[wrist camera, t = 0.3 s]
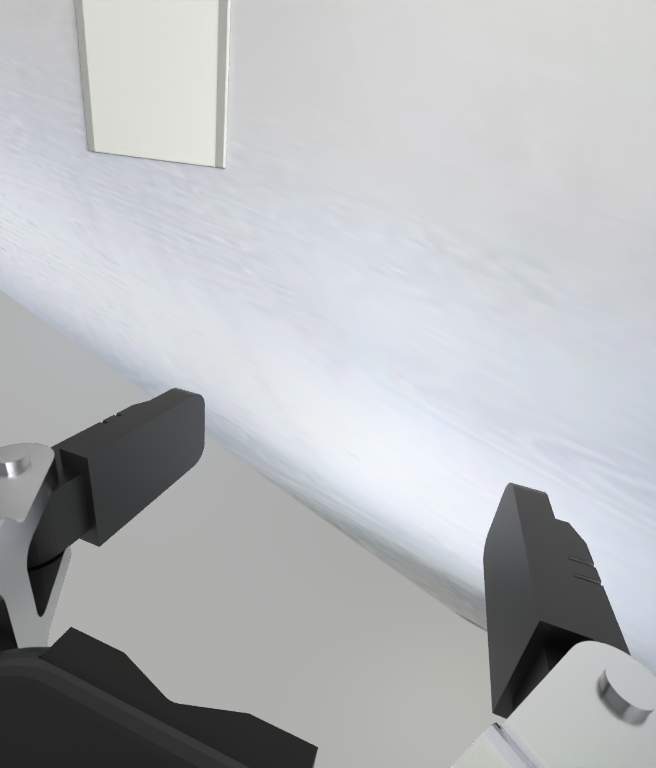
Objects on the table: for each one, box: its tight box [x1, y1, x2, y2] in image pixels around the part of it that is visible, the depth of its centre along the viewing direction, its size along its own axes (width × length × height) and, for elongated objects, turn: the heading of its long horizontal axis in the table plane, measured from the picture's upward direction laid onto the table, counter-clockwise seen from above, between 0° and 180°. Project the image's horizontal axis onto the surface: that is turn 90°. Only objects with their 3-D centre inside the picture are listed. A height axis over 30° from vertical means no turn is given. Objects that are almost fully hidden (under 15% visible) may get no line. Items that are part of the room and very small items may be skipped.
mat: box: [75, 0, 231, 168], centre depth 34 cm, size 24×16×1 cm, turn 172°
